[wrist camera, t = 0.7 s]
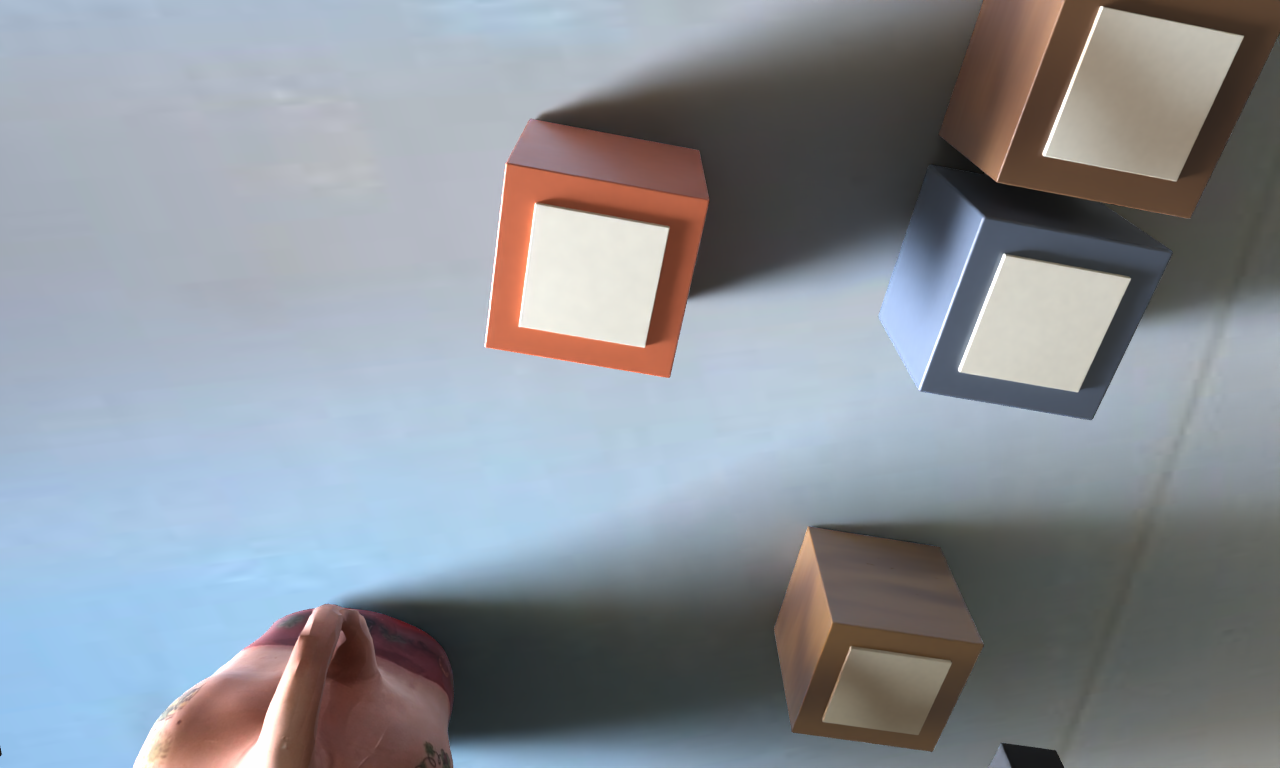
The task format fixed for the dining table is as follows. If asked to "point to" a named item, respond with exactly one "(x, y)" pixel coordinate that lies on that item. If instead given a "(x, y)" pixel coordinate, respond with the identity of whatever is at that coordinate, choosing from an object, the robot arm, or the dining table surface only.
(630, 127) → the dining table surface
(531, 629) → the dining table surface
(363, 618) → the ceramic mug
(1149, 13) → the walnut block
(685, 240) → the terracotta block
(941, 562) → the oak block
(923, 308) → the slate block
